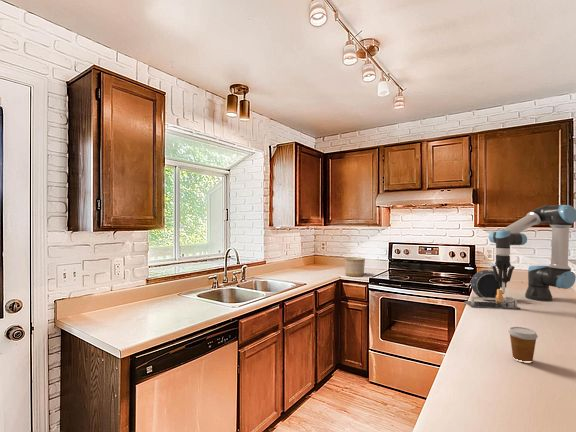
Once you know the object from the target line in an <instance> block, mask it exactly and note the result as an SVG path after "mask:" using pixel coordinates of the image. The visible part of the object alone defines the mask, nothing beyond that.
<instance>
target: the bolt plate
mask: <svg viewBox="0 0 576 432" xmlns="http://www.w3.org/2000/svg"><path fill="white" fill-rule="evenodd" d="M464 304H466V305H468V306H469V307H470V308H472V309H474V308H477V309H499V310H518V311H519V310H521V307H520V306H518V305H517V307H514V303H513V302H508V305H506V302H503V301H498V304H496V301H476V300H474V305H471V300H469V301H468V300H465V301H464Z"/></svg>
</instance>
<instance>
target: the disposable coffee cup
mask: <svg viewBox="0 0 576 432" xmlns="http://www.w3.org/2000/svg"><path fill="white" fill-rule="evenodd" d="M508 333H509V338H510V339H509V340H510V343H511V345H510V346H511V352H512V358H513V357H514V358H515V359H518V360H522V361H534V354H535V349H536V343H537V339H538V337H539V336H538V334H537V332H536V331H535V330H534V329H530V328H527V327H521V326H511V327H510V328H509V330H508Z"/></svg>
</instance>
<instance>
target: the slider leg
mask: <svg viewBox="0 0 576 432" xmlns="http://www.w3.org/2000/svg"><path fill="white" fill-rule="evenodd" d="M496 298H498V300H495V302H496V304H498V302H504V300H503V298H504V296H503V294H502V290H501V289H497V295H496Z"/></svg>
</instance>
